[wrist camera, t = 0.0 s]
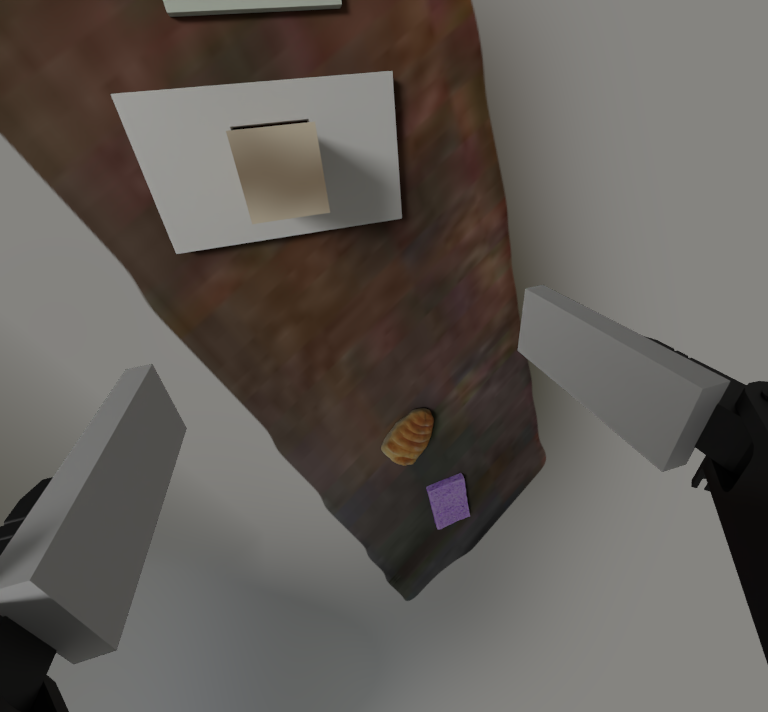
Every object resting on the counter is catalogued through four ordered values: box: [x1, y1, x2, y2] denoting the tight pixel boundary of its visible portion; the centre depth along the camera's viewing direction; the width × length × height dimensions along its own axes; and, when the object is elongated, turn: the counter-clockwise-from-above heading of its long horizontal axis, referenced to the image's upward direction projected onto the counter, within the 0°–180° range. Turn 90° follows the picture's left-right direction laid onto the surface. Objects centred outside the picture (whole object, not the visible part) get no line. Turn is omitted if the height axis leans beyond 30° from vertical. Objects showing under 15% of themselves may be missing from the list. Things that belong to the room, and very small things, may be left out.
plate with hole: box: [111, 71, 402, 254], centre depth 32 cm, size 12×22×2 cm, turn 96°
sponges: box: [426, 473, 470, 530], centre depth 66 cm, size 7×13×2 cm, turn 14°
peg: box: [226, 122, 330, 224], centre depth 27 cm, size 5×5×14 cm
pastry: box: [381, 408, 434, 466], centre depth 53 cm, size 9×7×4 cm
